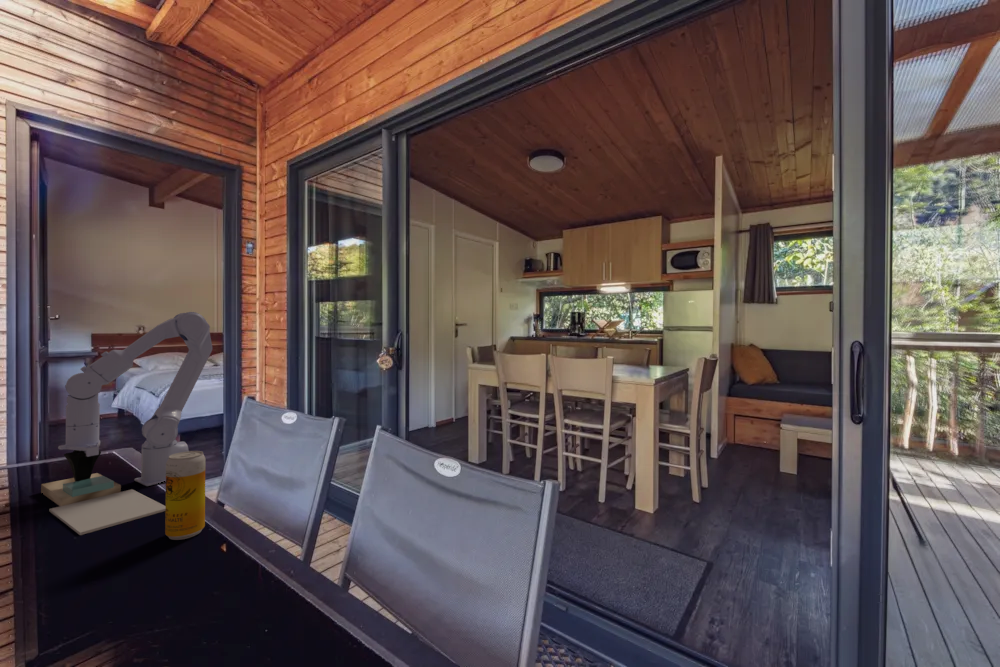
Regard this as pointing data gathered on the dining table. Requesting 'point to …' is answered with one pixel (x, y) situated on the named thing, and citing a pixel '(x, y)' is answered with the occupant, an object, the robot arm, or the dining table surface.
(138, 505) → the mat
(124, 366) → the robot arm
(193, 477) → the beer can
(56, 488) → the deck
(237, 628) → the dining table surface
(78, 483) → the tile
